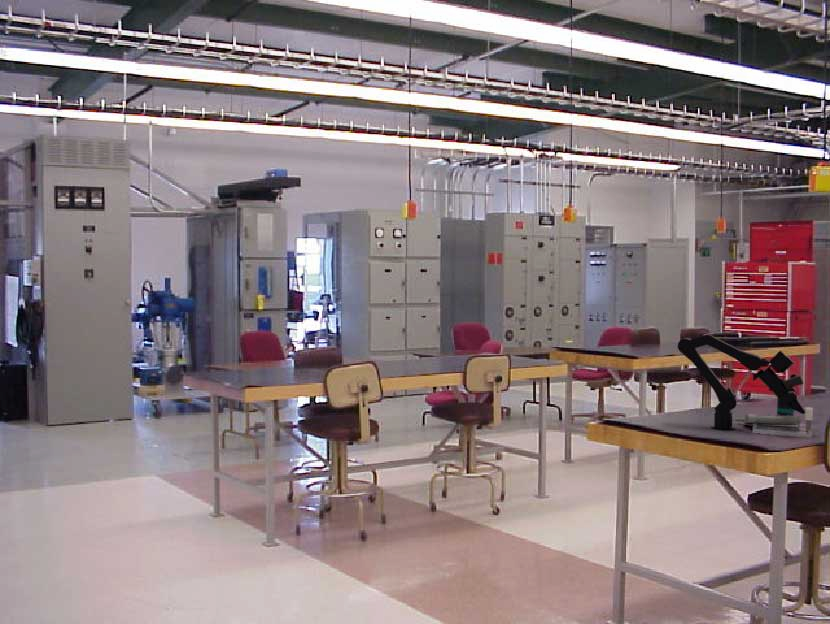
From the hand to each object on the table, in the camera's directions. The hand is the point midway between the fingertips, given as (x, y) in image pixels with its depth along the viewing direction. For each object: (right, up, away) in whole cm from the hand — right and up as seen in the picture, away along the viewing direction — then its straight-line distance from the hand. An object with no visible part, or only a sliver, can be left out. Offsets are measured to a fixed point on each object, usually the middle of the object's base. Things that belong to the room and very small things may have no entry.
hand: (804, 413), depth 316 cm
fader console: (-7, -8, +3) cm, 11 cm away
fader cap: (+1, -6, 0) cm, 6 cm away
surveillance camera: (+6, -8, +29) cm, 30 cm away
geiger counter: (-6, -6, +22) cm, 24 cm away
